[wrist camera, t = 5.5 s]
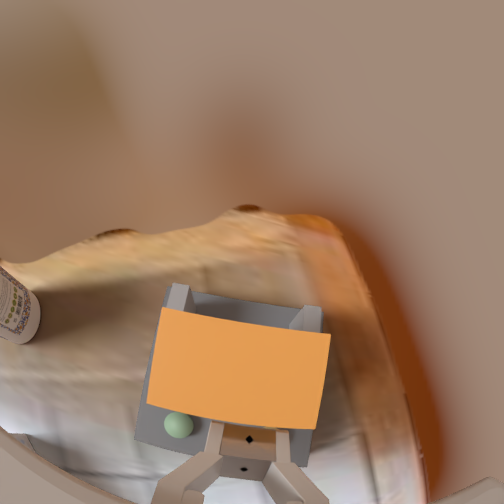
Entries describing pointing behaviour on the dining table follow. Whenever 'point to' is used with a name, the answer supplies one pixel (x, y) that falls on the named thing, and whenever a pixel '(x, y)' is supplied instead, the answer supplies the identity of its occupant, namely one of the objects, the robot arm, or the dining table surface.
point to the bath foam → (17, 310)
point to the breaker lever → (238, 371)
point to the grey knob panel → (196, 428)
